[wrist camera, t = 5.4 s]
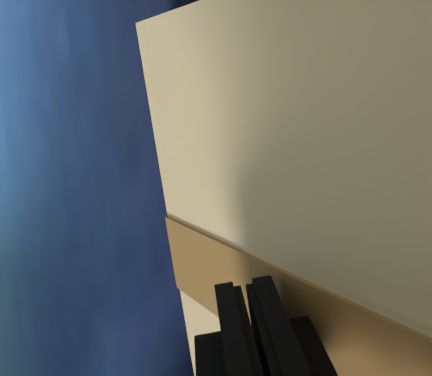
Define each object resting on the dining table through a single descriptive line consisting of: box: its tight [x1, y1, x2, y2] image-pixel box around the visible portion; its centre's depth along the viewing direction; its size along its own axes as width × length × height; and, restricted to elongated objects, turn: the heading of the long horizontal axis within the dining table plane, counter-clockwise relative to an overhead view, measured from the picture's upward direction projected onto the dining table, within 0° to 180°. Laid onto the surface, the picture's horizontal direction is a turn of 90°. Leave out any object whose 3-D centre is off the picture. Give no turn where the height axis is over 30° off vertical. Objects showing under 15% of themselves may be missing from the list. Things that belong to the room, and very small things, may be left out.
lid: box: [136, 0, 432, 376], centre depth 12 cm, size 13×18×1 cm
